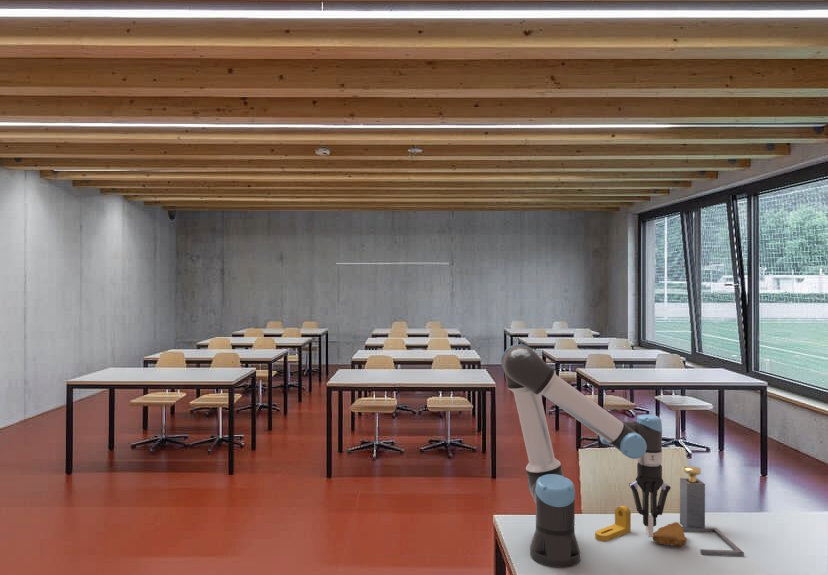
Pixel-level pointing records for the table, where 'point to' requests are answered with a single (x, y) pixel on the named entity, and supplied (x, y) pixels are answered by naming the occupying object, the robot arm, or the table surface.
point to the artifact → (670, 535)
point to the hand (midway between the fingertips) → (649, 535)
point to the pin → (692, 473)
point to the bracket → (616, 525)
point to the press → (700, 516)
